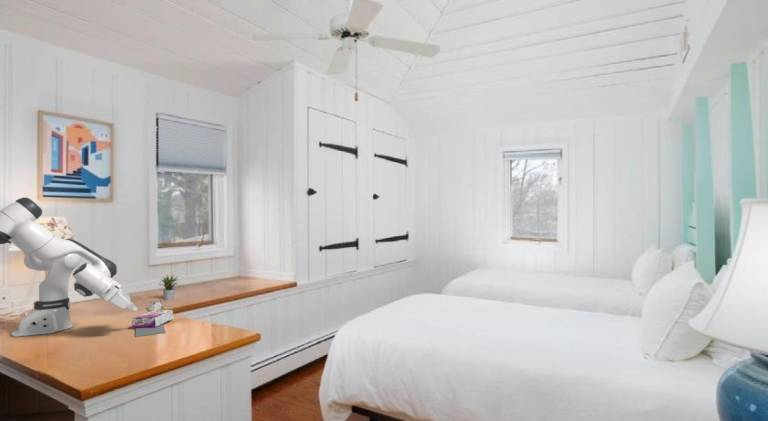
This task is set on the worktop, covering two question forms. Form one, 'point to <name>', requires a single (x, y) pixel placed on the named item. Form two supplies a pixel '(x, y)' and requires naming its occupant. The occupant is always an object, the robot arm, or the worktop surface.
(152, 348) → the worktop surface
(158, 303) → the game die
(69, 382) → the worktop surface
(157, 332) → the mat
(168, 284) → the house plant
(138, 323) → the candy bar box
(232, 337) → the worktop surface
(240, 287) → the worktop surface
